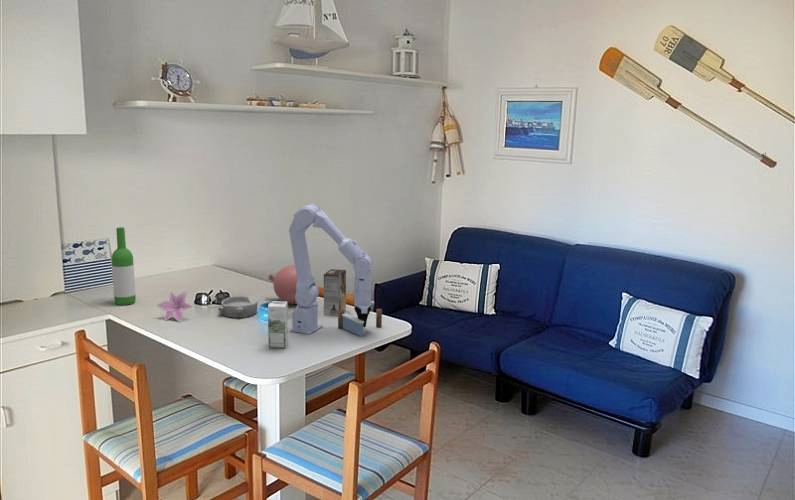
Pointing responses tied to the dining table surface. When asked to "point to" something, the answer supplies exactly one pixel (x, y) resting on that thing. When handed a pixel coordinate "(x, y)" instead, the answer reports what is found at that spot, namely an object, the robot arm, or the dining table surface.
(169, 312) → the lily
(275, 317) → the syrup box
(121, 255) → the wine bottle
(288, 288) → the pink balloon
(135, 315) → the dining table surface
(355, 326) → the block
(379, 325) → the gate posts
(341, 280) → the coffee box
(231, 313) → the dish
